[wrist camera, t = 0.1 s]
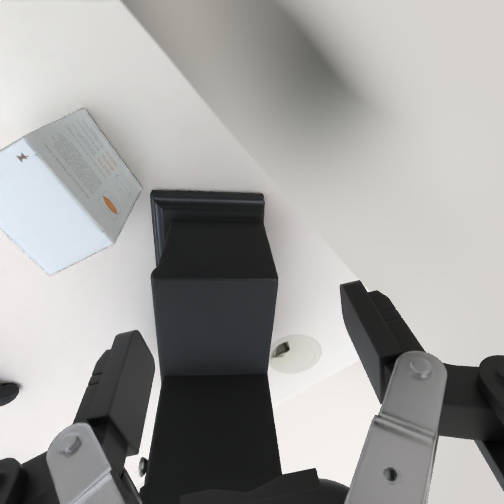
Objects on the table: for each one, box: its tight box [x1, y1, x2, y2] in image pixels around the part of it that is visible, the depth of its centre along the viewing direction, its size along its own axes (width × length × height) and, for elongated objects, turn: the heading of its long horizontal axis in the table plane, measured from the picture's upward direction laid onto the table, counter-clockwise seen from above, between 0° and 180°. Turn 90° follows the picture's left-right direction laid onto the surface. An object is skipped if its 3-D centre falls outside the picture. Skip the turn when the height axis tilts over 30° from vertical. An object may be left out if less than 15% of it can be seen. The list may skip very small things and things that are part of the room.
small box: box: [0, 108, 142, 276], centre depth 25 cm, size 8×6×10 cm
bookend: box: [139, 190, 282, 504], centre depth 28 cm, size 23×11×24 cm, turn 176°
